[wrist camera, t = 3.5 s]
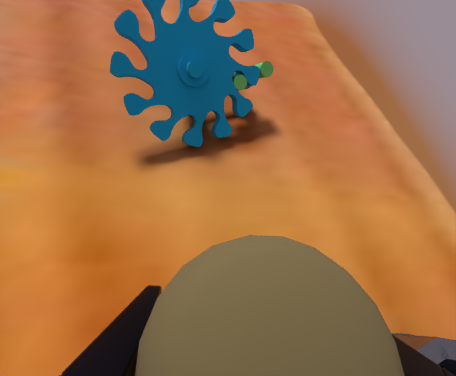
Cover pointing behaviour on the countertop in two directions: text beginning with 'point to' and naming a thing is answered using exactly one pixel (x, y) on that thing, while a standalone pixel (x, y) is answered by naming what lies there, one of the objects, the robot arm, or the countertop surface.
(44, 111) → the countertop surface
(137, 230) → the countertop surface
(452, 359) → the fitting collar
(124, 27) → the gear
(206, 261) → the cork
